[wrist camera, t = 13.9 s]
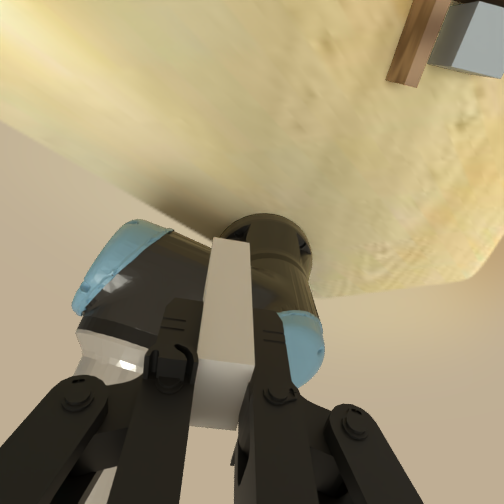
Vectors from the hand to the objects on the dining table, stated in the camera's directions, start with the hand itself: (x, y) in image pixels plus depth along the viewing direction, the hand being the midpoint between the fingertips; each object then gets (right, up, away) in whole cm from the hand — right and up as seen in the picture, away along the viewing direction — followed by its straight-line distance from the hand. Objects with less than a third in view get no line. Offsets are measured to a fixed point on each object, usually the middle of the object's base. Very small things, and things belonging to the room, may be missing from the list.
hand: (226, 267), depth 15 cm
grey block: (+26, +26, +28) cm, 46 cm away
